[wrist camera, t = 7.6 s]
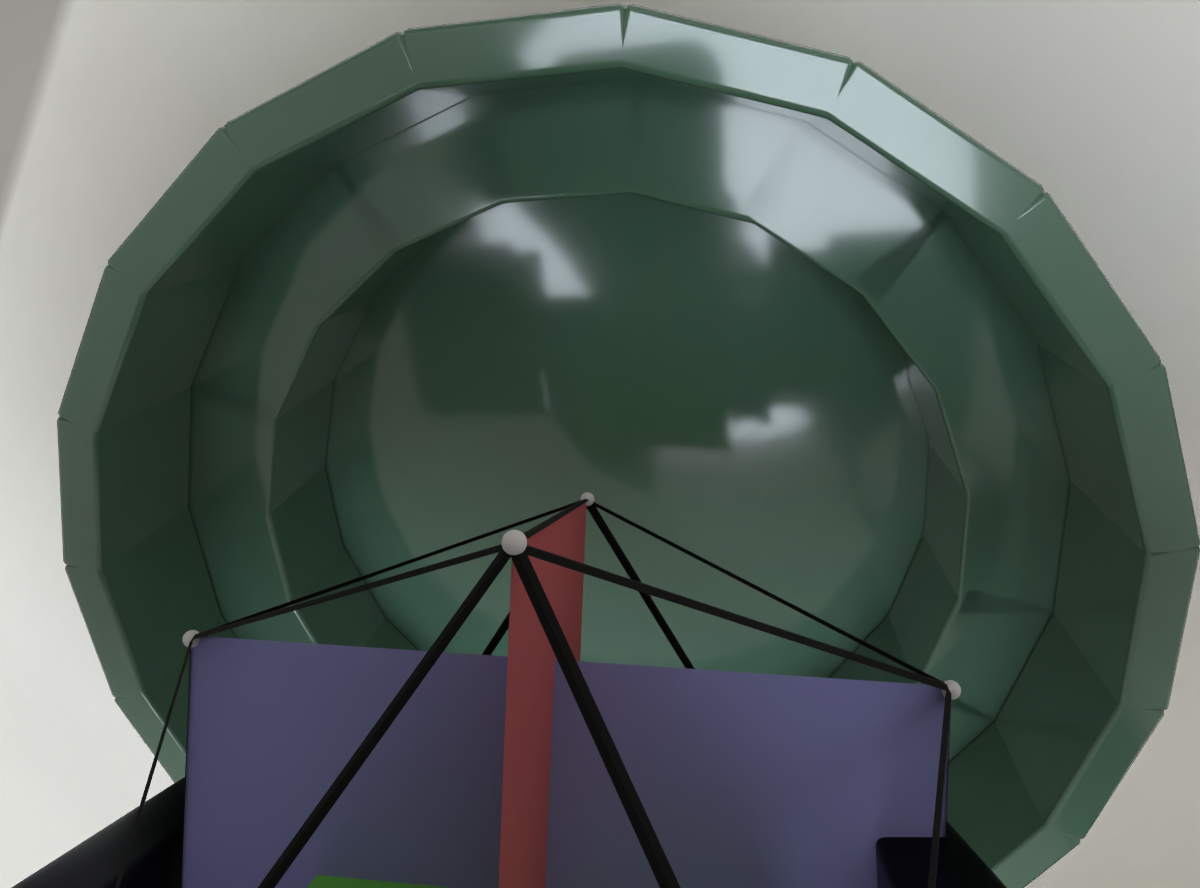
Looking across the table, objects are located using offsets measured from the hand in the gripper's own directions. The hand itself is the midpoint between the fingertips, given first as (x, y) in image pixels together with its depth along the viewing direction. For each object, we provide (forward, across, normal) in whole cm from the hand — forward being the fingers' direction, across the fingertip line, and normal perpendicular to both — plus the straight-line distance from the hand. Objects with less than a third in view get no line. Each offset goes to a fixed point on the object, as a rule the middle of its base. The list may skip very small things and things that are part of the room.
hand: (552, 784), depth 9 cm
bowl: (+8, 0, 0) cm, 8 cm away
